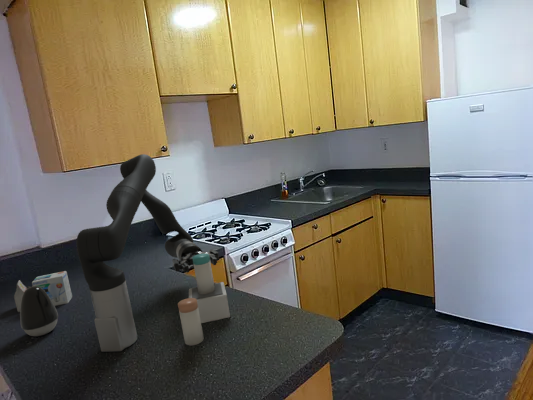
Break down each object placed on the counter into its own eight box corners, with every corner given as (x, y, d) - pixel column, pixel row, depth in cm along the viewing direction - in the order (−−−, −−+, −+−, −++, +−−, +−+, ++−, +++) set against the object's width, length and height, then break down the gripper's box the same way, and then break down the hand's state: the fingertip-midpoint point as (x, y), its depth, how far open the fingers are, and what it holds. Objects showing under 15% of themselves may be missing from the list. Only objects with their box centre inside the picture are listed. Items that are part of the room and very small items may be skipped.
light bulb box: (37, 310, 142) (30, 282, 140) (42, 303, 149) (36, 276, 147) (69, 303, 145) (62, 275, 143) (72, 296, 151) (66, 270, 149)
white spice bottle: (199, 345, 102) (192, 305, 100) (182, 345, 102) (174, 306, 101) (206, 335, 106) (199, 297, 104) (189, 335, 107) (182, 298, 105)
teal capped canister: (205, 295, 115) (199, 259, 113) (195, 292, 118) (189, 258, 116) (218, 288, 118) (212, 254, 117) (207, 286, 122) (201, 252, 120)
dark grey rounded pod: (55, 321, 130) (44, 278, 127) (65, 329, 123) (54, 283, 120) (20, 334, 123) (8, 289, 121) (29, 344, 116) (16, 296, 113)
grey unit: (230, 316, 115) (226, 293, 114) (192, 325, 113) (188, 301, 112) (226, 301, 126) (223, 280, 125) (192, 309, 124) (188, 287, 123)
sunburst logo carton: (17, 312, 143) (11, 286, 141) (19, 306, 149) (13, 281, 147) (29, 308, 144) (22, 283, 143) (30, 303, 150) (24, 278, 149)
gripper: (166, 248, 130) (176, 259, 115) (207, 238, 135) (221, 248, 120) (170, 269, 131) (180, 283, 116) (210, 258, 136) (225, 271, 122)
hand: (201, 265), depth 118 cm, fingers open, 8 cm apart
